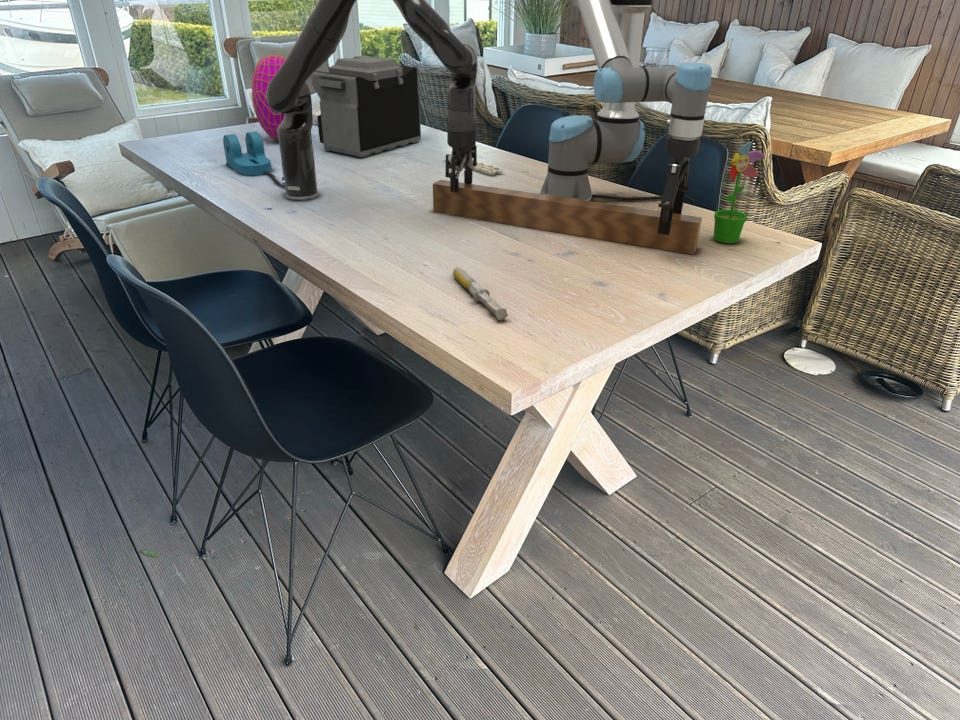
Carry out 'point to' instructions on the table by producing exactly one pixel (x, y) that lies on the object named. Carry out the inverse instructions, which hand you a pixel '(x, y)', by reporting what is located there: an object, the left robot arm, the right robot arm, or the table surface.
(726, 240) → the potted flower
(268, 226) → the table surface
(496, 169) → the decorative sign
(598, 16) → the right robot arm
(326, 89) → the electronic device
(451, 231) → the table surface
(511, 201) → the bar
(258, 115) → the decorative egg
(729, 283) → the table surface
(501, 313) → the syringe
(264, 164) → the camera mount
